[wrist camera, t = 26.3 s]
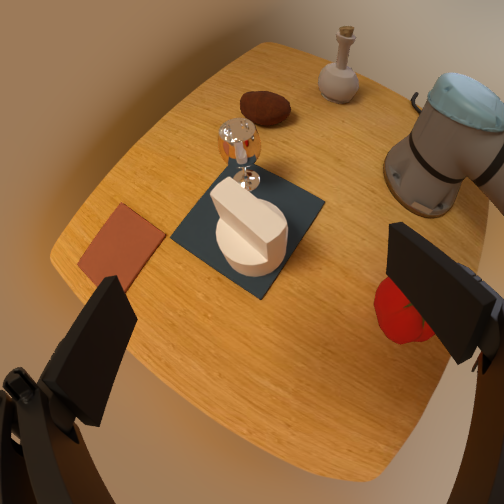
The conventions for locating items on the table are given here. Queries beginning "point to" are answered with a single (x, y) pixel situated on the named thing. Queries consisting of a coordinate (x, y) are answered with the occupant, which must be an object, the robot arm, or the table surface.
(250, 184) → the wineglass
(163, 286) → the table surface
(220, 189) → the base with upright slab
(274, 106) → the potato
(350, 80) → the potion bottle
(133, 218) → the mat
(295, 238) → the mat
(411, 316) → the tomato
